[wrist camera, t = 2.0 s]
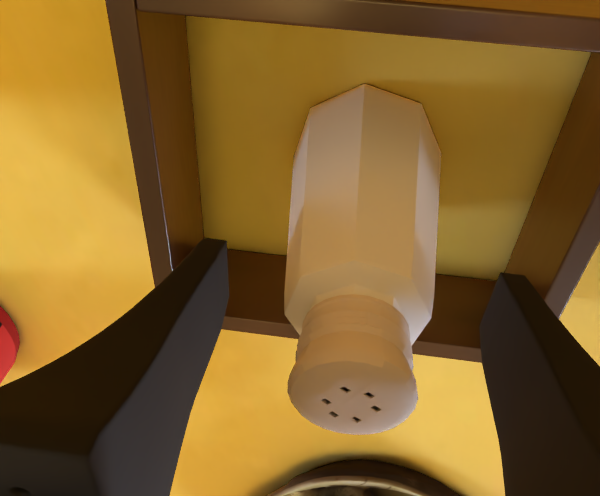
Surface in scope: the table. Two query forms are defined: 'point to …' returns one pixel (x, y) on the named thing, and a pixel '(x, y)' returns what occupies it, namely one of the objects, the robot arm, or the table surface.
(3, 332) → the canned food
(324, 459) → the table surface
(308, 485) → the salad plate
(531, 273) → the rectangular frame
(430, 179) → the salt shaker
